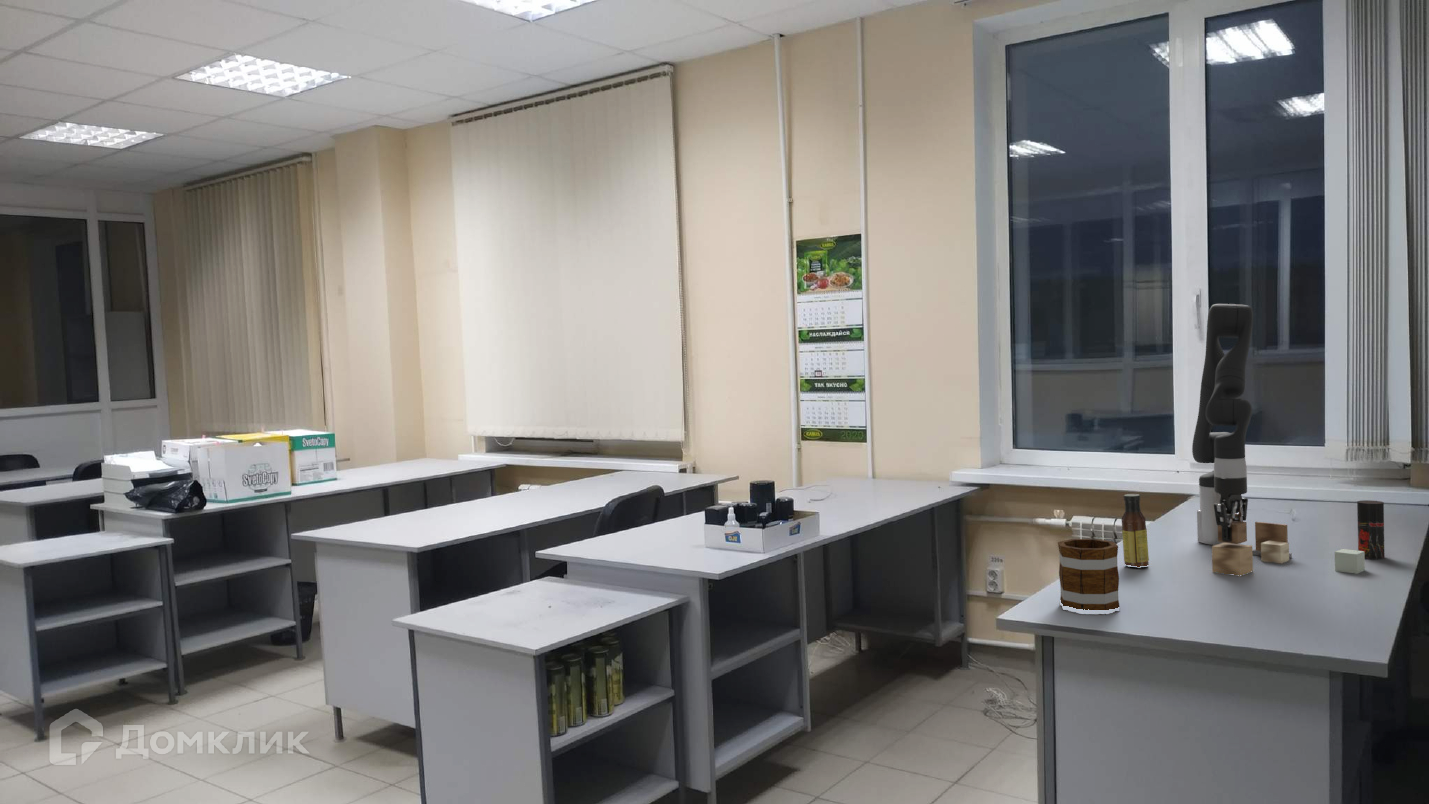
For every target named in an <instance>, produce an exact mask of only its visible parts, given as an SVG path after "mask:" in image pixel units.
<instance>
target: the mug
mask: <svg viewBox="0 0 1429 804" xmlns="http://www.w3.org/2000/svg"><path fill="white" fill-rule="evenodd" d="M1057 547H1058V550H1059V551H1058V552H1059V554H1058V555H1059V567H1058V577H1059V585H1060V598H1059V599H1060V600H1061V603H1062V604H1063V606H1069V607H1073V608H1076V609H1083V610H1084V609H1085V610H1088V609H1089V610H1109V609H1115V608H1118V607H1120V601H1119V588H1120V587H1119V585H1120V576H1119V575H1120V574H1119V568H1118V553H1119V545H1118V544H1117V543H1116V542H1115V541H1113V540H1112V541H1111V540H1106V539H1098V538H1070V539H1065V540H1061V541H1057ZM1060 600H1059V601H1060Z"/></svg>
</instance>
